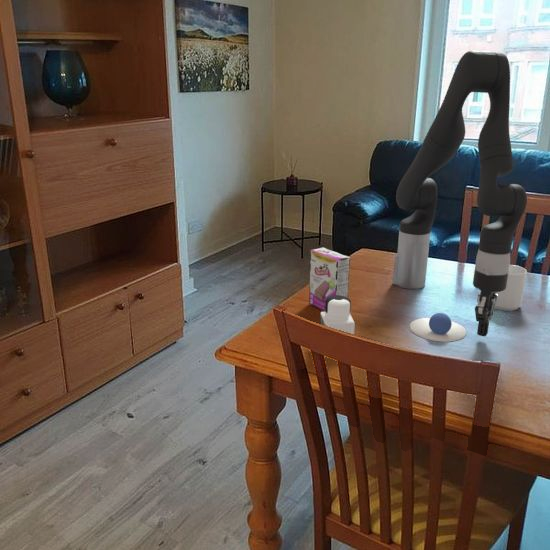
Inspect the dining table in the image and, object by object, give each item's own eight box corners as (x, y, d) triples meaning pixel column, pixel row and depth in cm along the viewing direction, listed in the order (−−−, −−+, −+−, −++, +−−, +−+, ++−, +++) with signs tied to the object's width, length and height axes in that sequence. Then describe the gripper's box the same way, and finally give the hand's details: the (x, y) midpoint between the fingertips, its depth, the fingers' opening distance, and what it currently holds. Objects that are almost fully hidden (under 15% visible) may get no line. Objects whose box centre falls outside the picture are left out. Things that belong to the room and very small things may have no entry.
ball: (434, 313, 138) (456, 322, 137) (434, 306, 143) (454, 315, 142) (425, 332, 140) (446, 341, 139) (425, 325, 145) (445, 333, 144)
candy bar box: (307, 304, 159) (309, 249, 154) (320, 300, 162) (323, 246, 157) (334, 317, 151) (337, 259, 146) (348, 313, 154) (351, 256, 148)
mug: (523, 313, 155) (530, 275, 151) (490, 310, 156) (495, 273, 153) (514, 297, 166) (520, 261, 162) (483, 295, 168) (488, 259, 164)
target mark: (401, 332, 142) (401, 331, 142) (420, 314, 153) (420, 313, 153) (456, 346, 135) (456, 345, 135) (472, 326, 146) (472, 325, 146)
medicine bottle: (319, 337, 139) (320, 292, 135) (347, 336, 140) (349, 292, 136) (323, 350, 133) (325, 304, 129) (353, 350, 133) (356, 303, 129)
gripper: (482, 258, 139) (473, 322, 145) (467, 273, 129) (459, 340, 135) (514, 264, 136) (504, 329, 141) (501, 279, 125) (491, 348, 131)
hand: (482, 334), depth 138 cm, fingers closed
